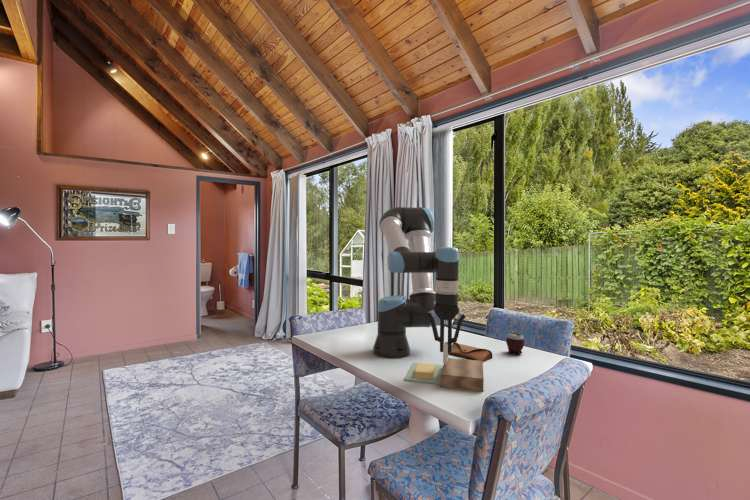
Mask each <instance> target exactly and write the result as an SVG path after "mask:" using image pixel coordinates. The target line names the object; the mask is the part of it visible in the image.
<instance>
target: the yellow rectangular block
mask: <svg viewBox="0 0 750 500" xmlns="http://www.w3.org/2000/svg"><path fill="white" fill-rule="evenodd" d="M418 363H419V364H418V366H417V368H416V370H415V377H416V378H426V379H433V377H434V373H435V367H436V365H437V364H436V365H433V363H425V364H422V363H423V362H418Z"/></svg>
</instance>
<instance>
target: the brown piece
mask: <svg viewBox="0 0 750 500" xmlns="http://www.w3.org/2000/svg"><path fill="white" fill-rule="evenodd" d="M442 365H443V369H442V372H441V384H440V387H441V388H448V389H458V390H467V391H476V392H477V391H478V392H484V363H483V361H478V360H470V359H466V358H456V357H455V358H453V357H452V358H451V357H448V363H443V364H442Z"/></svg>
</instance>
